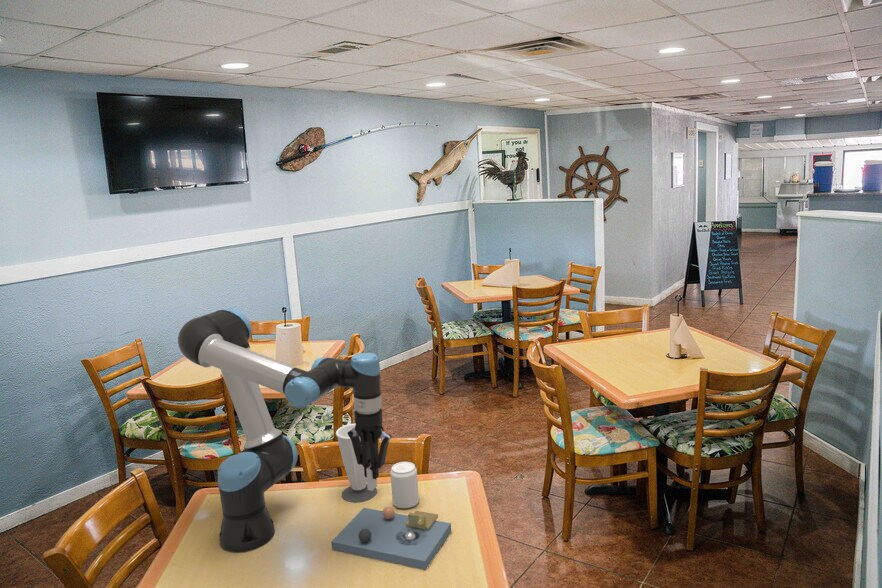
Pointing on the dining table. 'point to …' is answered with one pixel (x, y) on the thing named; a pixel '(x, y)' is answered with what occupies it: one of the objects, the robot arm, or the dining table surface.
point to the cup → (353, 469)
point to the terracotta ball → (388, 512)
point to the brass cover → (421, 520)
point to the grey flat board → (391, 539)
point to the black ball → (364, 535)
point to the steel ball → (410, 536)
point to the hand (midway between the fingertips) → (372, 488)
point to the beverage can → (404, 485)
